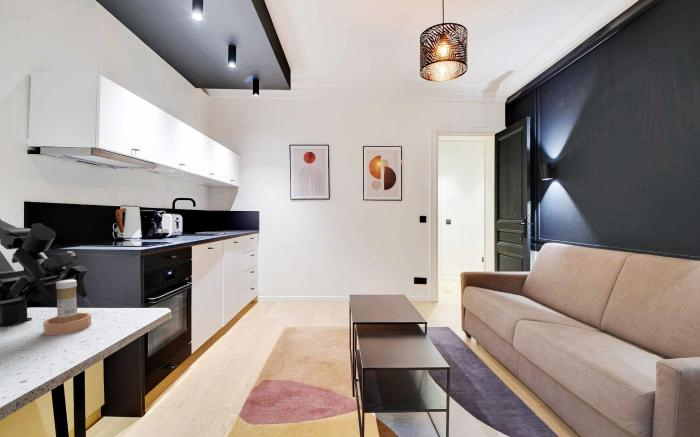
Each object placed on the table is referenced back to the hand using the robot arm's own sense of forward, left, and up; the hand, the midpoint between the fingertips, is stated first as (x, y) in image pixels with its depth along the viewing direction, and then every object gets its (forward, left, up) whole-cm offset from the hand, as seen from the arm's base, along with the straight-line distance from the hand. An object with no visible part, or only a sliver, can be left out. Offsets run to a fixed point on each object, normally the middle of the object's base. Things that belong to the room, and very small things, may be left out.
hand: (71, 300), depth 96 cm
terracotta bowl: (-1, 0, -8) cm, 8 cm away
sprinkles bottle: (-2, 0, -8) cm, 8 cm away
